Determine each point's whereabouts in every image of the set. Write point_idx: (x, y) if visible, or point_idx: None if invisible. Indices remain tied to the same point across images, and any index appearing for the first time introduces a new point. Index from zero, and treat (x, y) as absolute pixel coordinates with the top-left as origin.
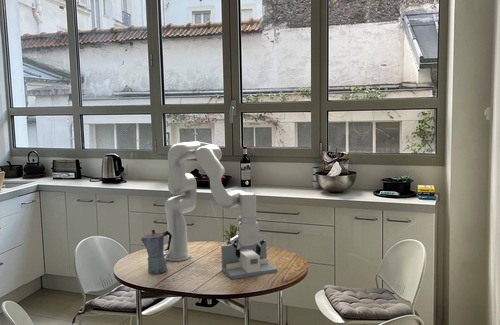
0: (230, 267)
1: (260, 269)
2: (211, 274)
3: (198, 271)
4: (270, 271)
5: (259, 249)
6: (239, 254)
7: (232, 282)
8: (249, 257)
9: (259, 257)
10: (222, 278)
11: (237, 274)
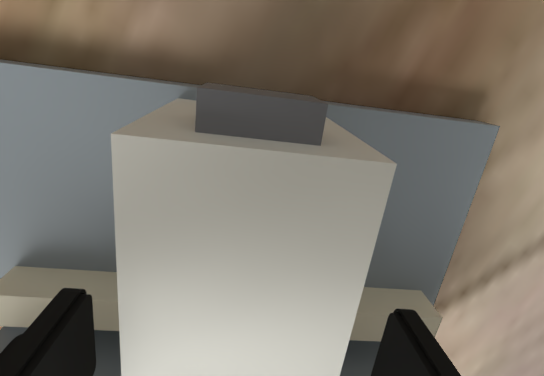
0: (399, 297)
1: None
2: (517, 291)
3: (538, 371)
4: (58, 68)
5: (1, 371)
6: (429, 347)
7: (523, 34)
8: (350, 160)
9: (132, 128)
10: (517, 177)
11: (432, 129)
